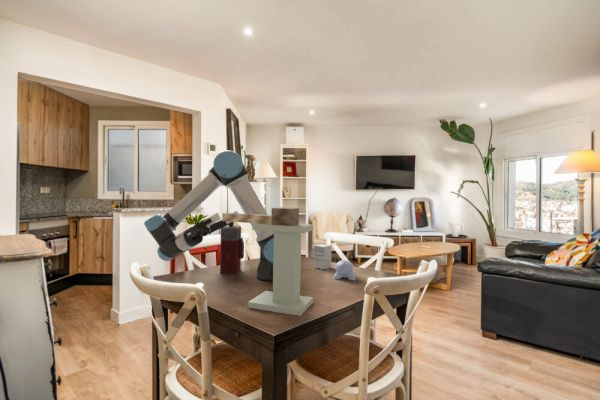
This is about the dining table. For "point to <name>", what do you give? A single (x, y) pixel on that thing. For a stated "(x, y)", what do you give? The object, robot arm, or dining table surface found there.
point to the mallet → (267, 217)
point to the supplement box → (322, 256)
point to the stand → (284, 271)
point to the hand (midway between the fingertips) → (228, 214)
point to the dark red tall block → (231, 249)
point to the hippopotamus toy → (344, 270)
